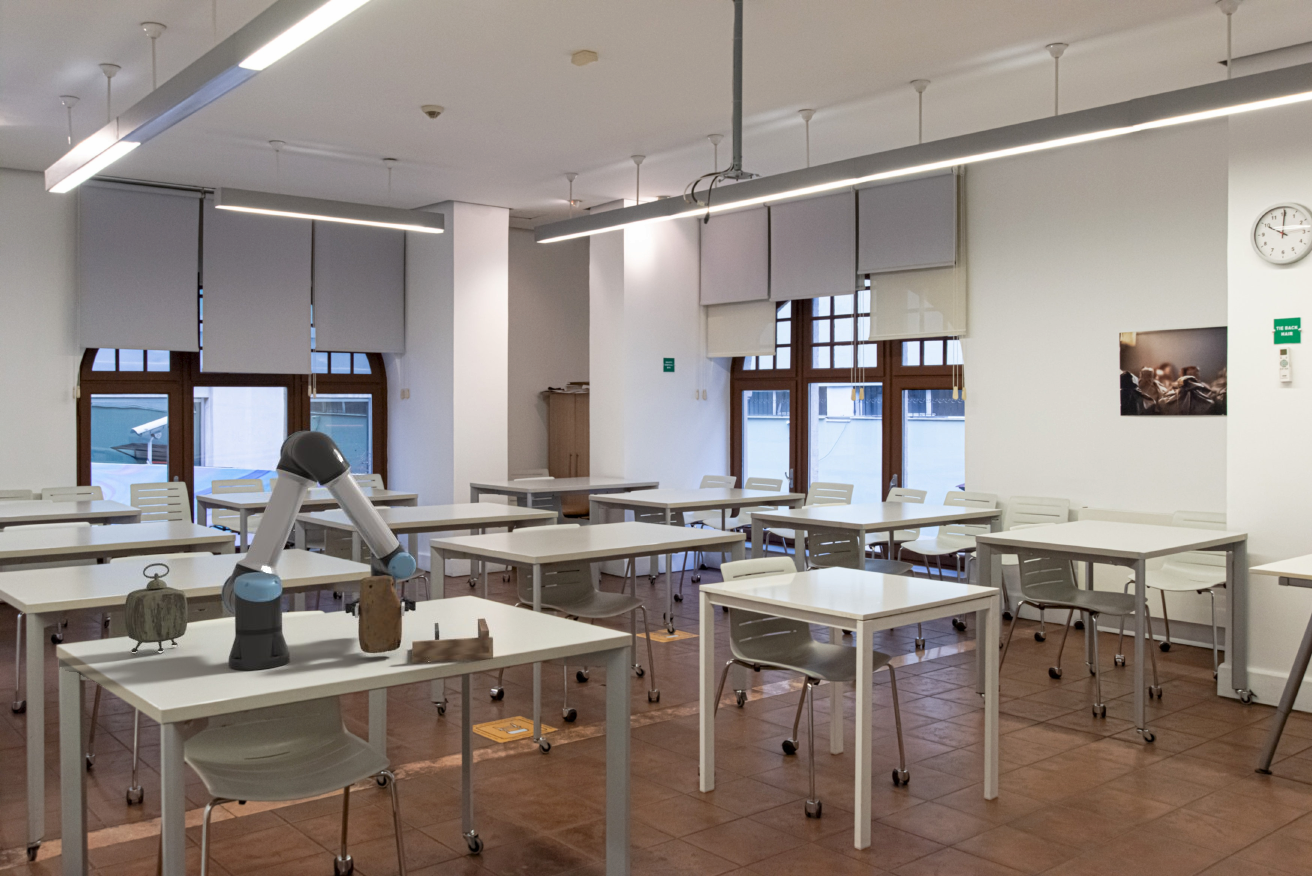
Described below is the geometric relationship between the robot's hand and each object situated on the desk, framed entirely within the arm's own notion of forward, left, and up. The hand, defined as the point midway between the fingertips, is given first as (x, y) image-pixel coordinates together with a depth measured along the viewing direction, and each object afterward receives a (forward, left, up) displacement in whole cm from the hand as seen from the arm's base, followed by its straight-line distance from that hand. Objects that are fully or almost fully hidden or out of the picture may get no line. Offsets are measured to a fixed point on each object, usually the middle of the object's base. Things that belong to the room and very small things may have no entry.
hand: (379, 611), depth 273 cm
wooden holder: (+19, +4, -13) cm, 23 cm away
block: (0, +4, -11) cm, 12 cm away
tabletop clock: (-61, +29, -13) cm, 69 cm away
